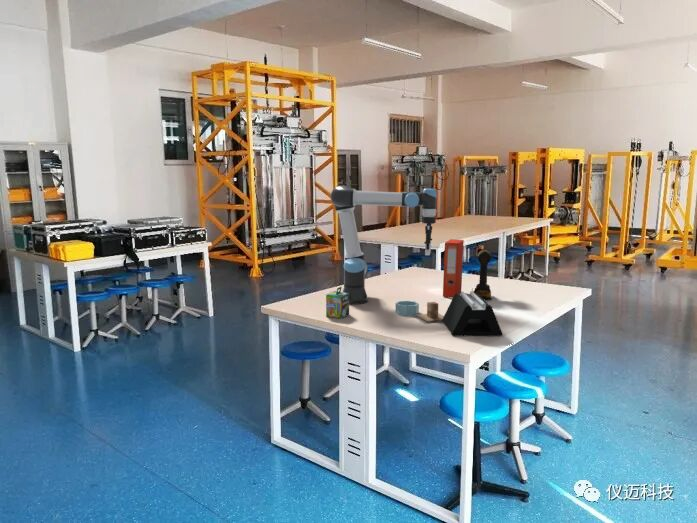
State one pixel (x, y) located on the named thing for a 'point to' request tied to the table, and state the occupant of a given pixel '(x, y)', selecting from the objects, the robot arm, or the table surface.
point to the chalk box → (337, 304)
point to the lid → (431, 313)
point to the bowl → (407, 308)
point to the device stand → (471, 317)
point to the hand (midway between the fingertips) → (427, 253)
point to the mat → (425, 322)
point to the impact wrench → (483, 275)
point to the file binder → (453, 267)
